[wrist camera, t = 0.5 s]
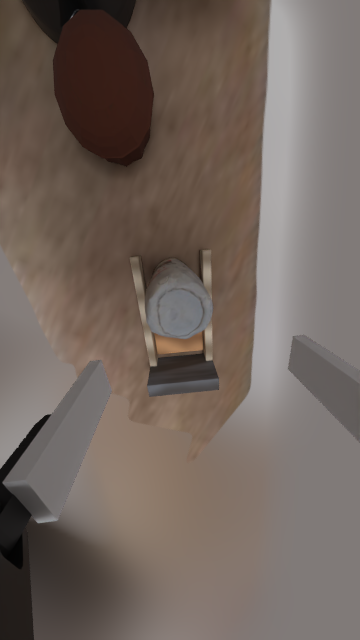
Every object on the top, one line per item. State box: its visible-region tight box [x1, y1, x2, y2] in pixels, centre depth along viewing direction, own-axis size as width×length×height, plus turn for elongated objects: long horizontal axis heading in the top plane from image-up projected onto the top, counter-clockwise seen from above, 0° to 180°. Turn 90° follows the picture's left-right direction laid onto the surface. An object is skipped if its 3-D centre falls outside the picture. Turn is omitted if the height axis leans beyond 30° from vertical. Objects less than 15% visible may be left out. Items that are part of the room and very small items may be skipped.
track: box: [130, 249, 219, 397], centre depth 35 cm, size 27×14×9 cm, turn 5°
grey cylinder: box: [145, 258, 213, 339], centre depth 26 cm, size 8×8×20 cm
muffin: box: [53, 10, 154, 167], centre depth 22 cm, size 12×11×10 cm
